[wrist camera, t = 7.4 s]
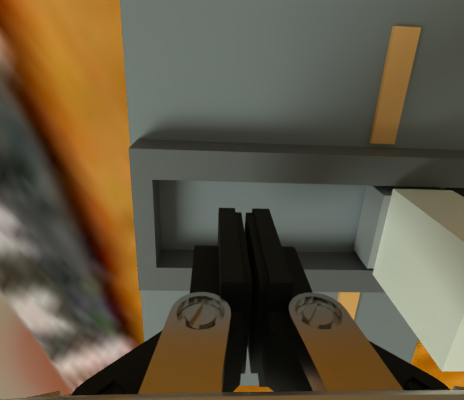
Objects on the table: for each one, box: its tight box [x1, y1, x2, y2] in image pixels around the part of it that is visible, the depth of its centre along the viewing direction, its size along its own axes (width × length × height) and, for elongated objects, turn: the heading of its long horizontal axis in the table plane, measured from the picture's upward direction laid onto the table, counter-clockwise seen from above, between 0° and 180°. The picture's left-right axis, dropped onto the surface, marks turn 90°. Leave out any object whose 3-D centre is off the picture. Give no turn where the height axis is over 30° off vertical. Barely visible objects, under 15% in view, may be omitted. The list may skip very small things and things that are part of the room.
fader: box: [354, 185, 464, 371], centre depth 13 cm, size 4×3×7 cm
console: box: [120, 0, 464, 386], centre depth 16 cm, size 22×15×4 cm
